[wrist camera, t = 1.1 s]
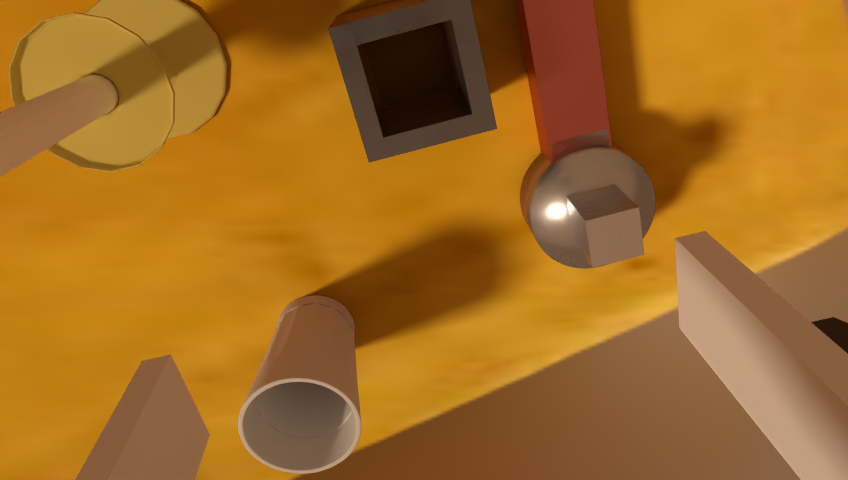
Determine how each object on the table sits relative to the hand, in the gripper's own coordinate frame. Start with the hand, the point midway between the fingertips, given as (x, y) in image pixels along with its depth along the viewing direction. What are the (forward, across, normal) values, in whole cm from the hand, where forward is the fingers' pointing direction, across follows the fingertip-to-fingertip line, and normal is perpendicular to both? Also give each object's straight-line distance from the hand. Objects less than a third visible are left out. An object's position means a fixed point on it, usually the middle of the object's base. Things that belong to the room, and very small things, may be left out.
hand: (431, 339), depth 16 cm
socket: (+31, +2, +2) cm, 31 cm away
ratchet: (+31, +12, -4) cm, 33 cm away
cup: (+31, -11, -18) cm, 37 cm away
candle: (+31, -16, +5) cm, 36 cm away
